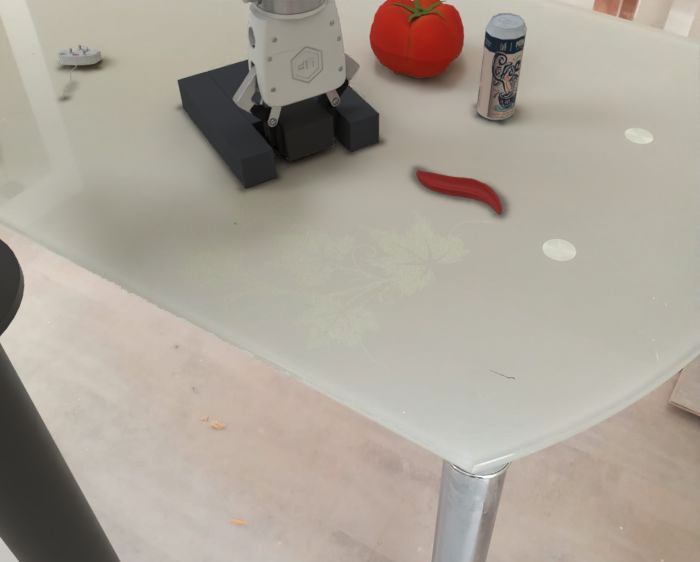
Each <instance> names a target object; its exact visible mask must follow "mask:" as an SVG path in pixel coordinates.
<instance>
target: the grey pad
mask: <svg viewBox="0 0 700 562" xmlns="http://www.w3.org/2000/svg"><path fill="white" fill-rule="evenodd" d="M248 73H249V62H248V58H247V59H244V60H240V61H237V62H233V63H230V64H227V65H223V66H220V67H218V68H213V69H210V70H207V71H203V72H200V73H196V74H193V75H189V76H186V77H182V78H179V79H177V85H178V90H179V94H180V95H179V96H180V99H181V105H182V109H184V111H185V112H186V113H187V115H188V117H190V119H191V120H192V121H193V123H194V124H195V126H197V128H198V129H199V130H200V132H201V133H202V134H203V135H204V136H205V138H206V140H208V142H209V143H210V144H211V146H212V147H213V148H214V149H215V151H216V153H217V154H218V155H219V156H220V157H221V159H222V160H223V162H225V164H226V165H227V167H228V168H229V170H231V172H232V173H233V174H234V176H235V177H236V178H237V179H238V181H239V182H240V184H242V186H243V187H244V188H245V189H249V188H250V187H254V186H258V185H260V184H262V183H265V182H269V181H272V180H274V179H277V174H276V173H277V172H276V171H277V170H276V163H275V154H274V148H273V147H271V146H270V145H269V144H268V143H267V142H266V138H265V130H264V122H263V121H262V120H260V119H258V118H257V117H255V116H253V114H251V113H248V112H247V111H245V110H243V109H241V108H239V107H238V106H237V105H236V104H235V102H234V101H233V96H234V95H235V93H236V92H237V90H238V89H239V87H240V86H241V84H242V82H243V81H244V79H245V78H246V76H247V75H248ZM318 96H320V95H318ZM318 96H314V98H315V99H316V100H317V99H318ZM261 98H262V97H261V94H260V91H255V93H254V95H253V96H252V98H251V100H254V101H256V102H258V103H259V104H260V102H261ZM311 98H312V97H311ZM336 114H337V125H335V138H337V139H338V140H339V141H340V142H341V143H342V144H343V146H344V147H346V149H347V150H348V151H349V152H350V153H351V152H355V151H359V150H360V149H363V148H366V147H370V146H373V145H375V144H377V143H380V113H379V111H377V110H376V109H375V108H374V107H373V106H372V105H371V104H370V103H368V101H366V100H365V99H364V98H363V97H362V96H361V95H360V94H359V93H358V92H357V91H356V90H355V89H354V88H352V87H351V86H350V84H349V85H348V87H347V88H346V90H345V91H344V92H343V94H342V95H341V97H340V103H339V105H337V106H336Z"/></svg>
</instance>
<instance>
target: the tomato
mask: <svg viewBox="0 0 700 562" xmlns="http://www.w3.org/2000/svg"><path fill="white" fill-rule="evenodd" d="M445 2H446V0H385V1H384V2H382V4H381V5H380V6H379V7H377V10H376V12H374V16H373V21H372V24H371V26H370V30H369V37H368V38H369V45H370V48H371V50H372V52H373V54H374V56H375V57H376V59H377V60H378V61H379V63H380V64H381V65H382V66H383V67H385V68H386V69H388V70H389V71H391V72H393V73H394V74H399V75H404V76H408V77H413V78H417V79H424V78H432V77H435V76H437V75H440V74H442V73H444V72H446V71H447V69H448V67H450V65H451V63H452V62H454V61H455V60H457V59H458V58H459V56H460V55H461V53H462V51H463V48H464V46H465V45H464V43H465V30H464V29H465V28H464V24H463V20H462V17H461V15H460V11H459V10H458V9H457V8H456V7H455V6H454V5H453V4H449V3H445Z"/></svg>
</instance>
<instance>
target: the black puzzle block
mask: <svg viewBox="0 0 700 562" xmlns="http://www.w3.org/2000/svg"><path fill="white" fill-rule="evenodd" d="M278 121H279V122H280V123H281V124H282V126H283V137H284V146H285V152H284V154H283V156H284V157H285V159H287V160H288V162H292V161H295V160H298V159H301V158H303V157H307V156H310V155H312V154H316V153H318V152H322V151H324V150H327V149H330V148H332V147H333V148H334V147H335V137H334V129H333V116H332V115H331V114H330V113H328V112H327V111H326V110H325V109H324V108H323V107H322V106H321V105H320V104H319V103H318V102H317V100H316V99H315V98H314V97H312V98H308V99H305V100H302V101H299V102H296V103H292V104H289V105H286V106H282V108H281V112H280V115H279V119H278Z"/></svg>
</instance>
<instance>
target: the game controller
mask: <svg viewBox="0 0 700 562" xmlns="http://www.w3.org/2000/svg"><path fill="white" fill-rule="evenodd" d="M77 47H78V48H76V49H74V50H73V49H72V48H71V47H69V48H68V49H66V48H65V49H64V48H63V49H60V50H59V51H58V53H57V56H58V60H59V63H60V65H65V66H75V67H72V68H71V71H70V73H69V78H70V80H69V84H68V86H65V88H64V90H63V94H62V97H63V99H66V97H65V92H66V90H67V88H70V86H71V83H72V72H73V71H74V69H77V67H78V66H89V65H94V64H98V63H99V62H100V61H101V60H103V57H102V53H101V50H100V49H97V48H95V49H92V50H89V46H88V45H81V44H78V45H77Z"/></svg>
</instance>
